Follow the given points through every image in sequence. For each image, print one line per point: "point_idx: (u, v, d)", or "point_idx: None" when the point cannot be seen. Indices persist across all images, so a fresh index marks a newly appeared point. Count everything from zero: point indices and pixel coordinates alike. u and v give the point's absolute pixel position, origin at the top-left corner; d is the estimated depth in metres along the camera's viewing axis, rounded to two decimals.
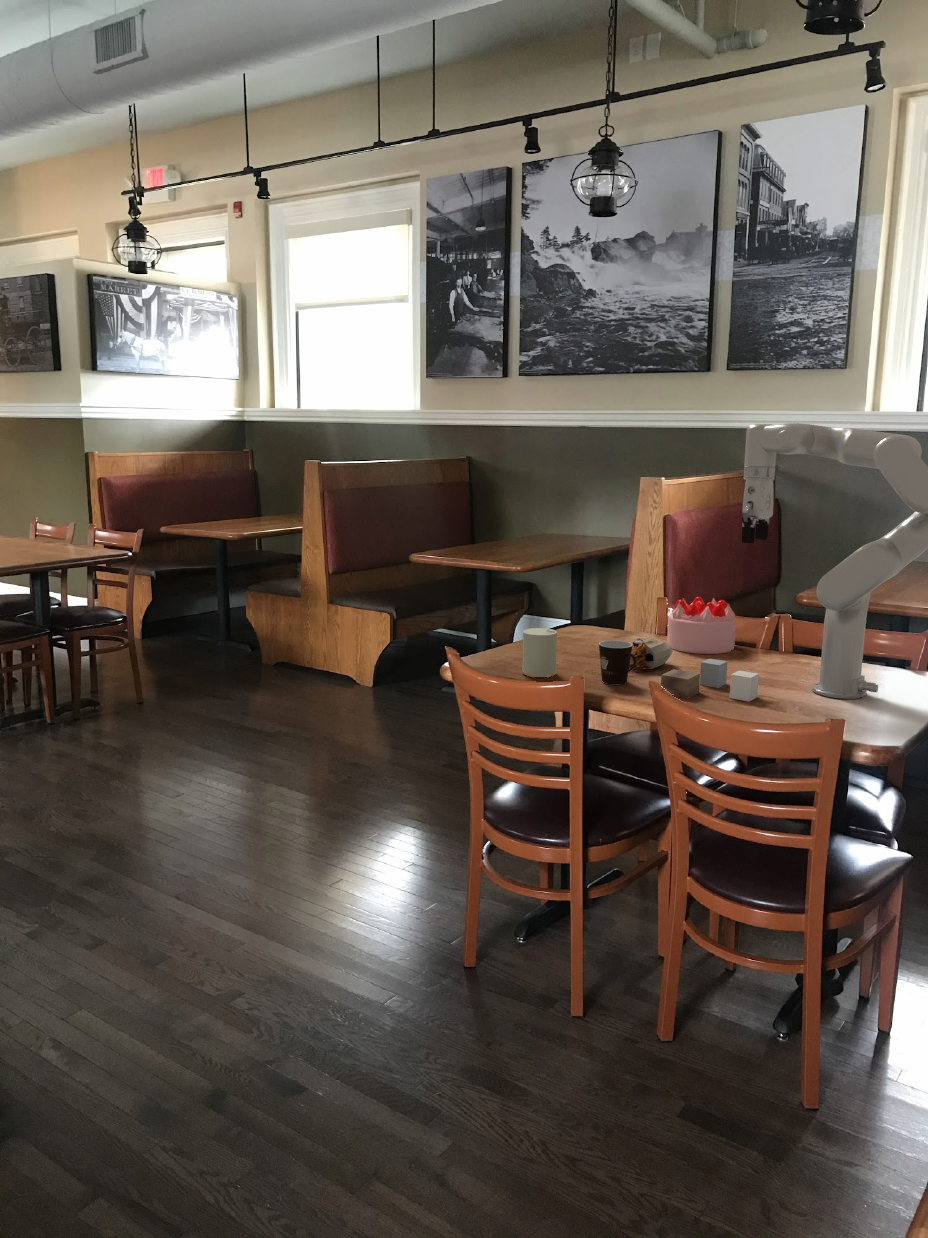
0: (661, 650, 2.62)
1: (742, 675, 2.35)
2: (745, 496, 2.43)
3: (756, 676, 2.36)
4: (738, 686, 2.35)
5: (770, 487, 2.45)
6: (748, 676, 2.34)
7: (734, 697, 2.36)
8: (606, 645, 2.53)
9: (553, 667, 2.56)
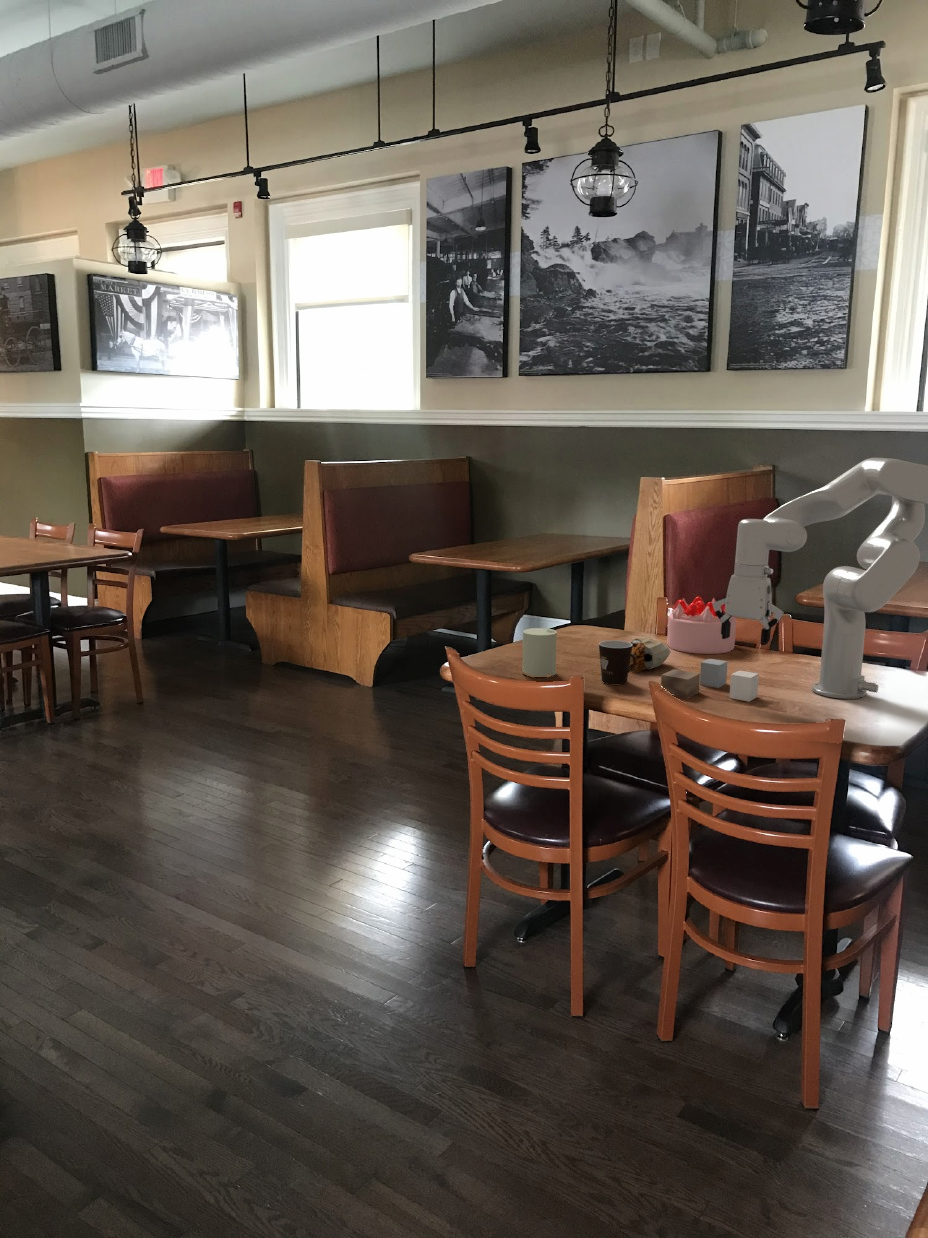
0: (660, 650, 2.61)
1: (742, 675, 2.35)
2: (766, 597, 2.28)
3: (756, 676, 2.36)
4: (738, 686, 2.35)
5: None
6: (748, 676, 2.34)
7: (734, 697, 2.36)
8: (606, 645, 2.53)
9: (553, 667, 2.56)
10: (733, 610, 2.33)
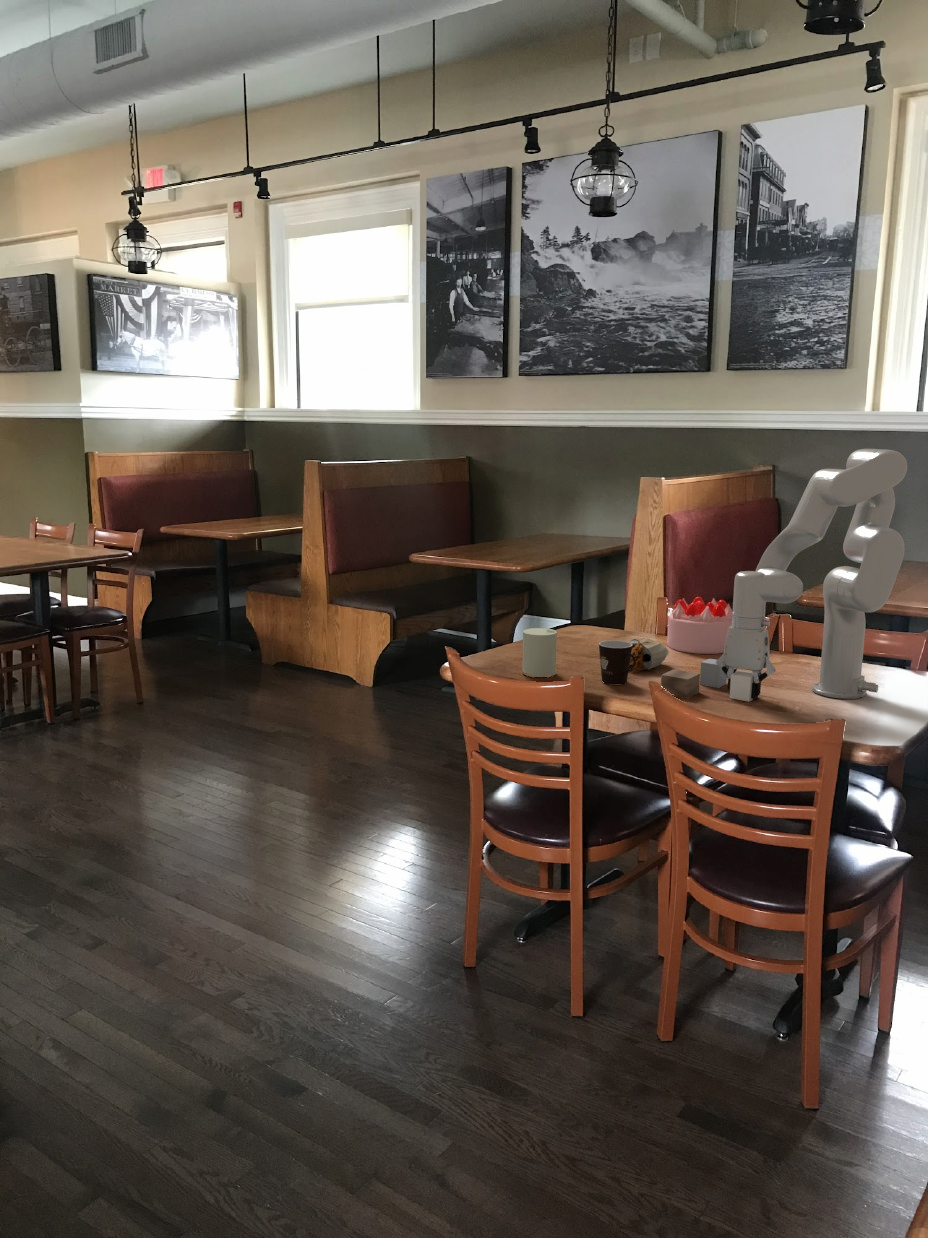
0: (658, 650, 2.61)
1: (742, 675, 2.35)
2: (763, 649, 2.31)
3: None
4: (738, 686, 2.35)
5: None
6: (748, 676, 2.34)
7: (734, 697, 2.36)
8: (606, 645, 2.53)
9: (553, 667, 2.56)
10: (731, 661, 2.35)
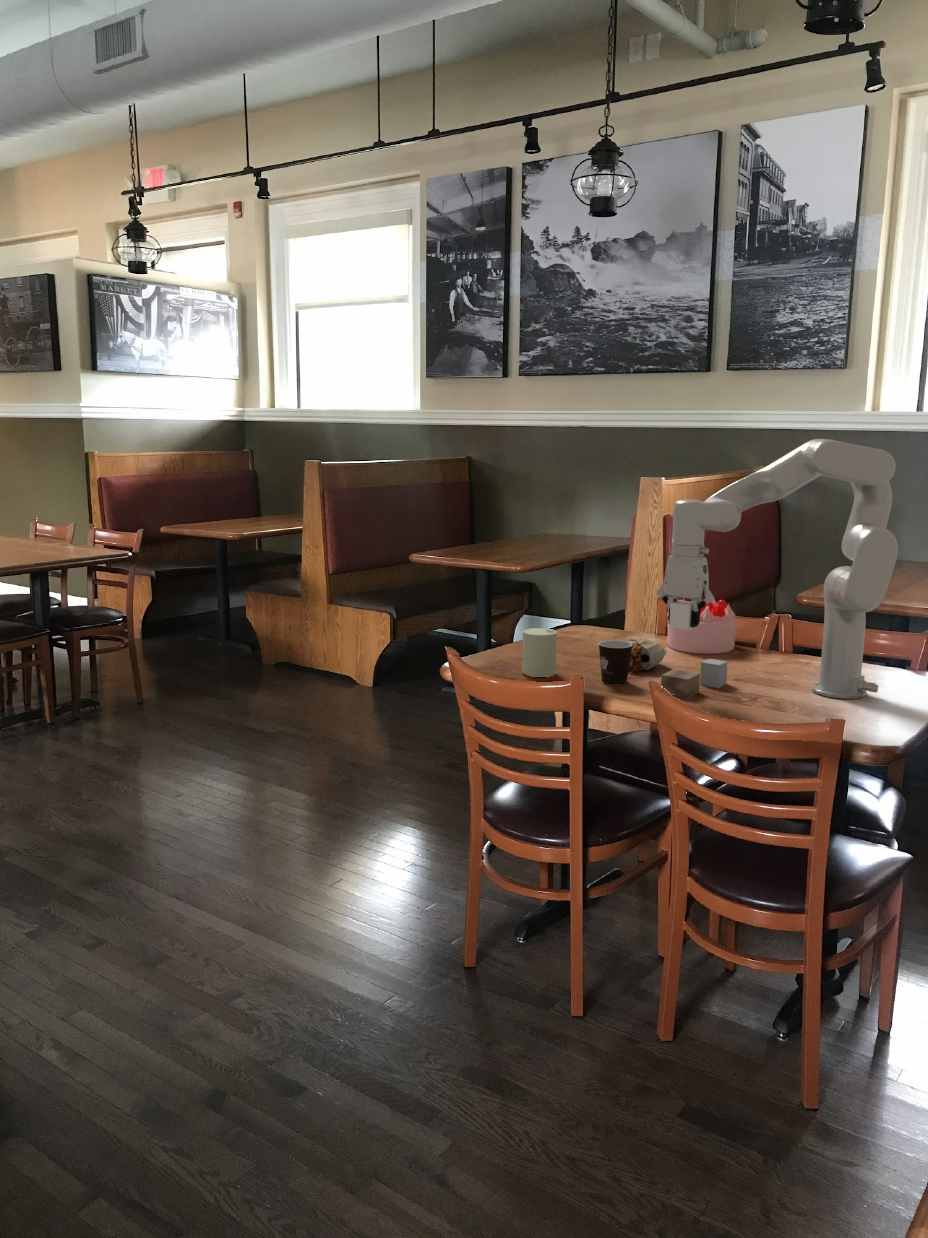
0: (656, 651, 2.61)
1: (681, 603, 2.35)
2: (702, 576, 2.31)
3: None
4: (678, 615, 2.35)
5: None
6: (687, 604, 2.34)
7: (674, 626, 2.36)
8: (606, 645, 2.53)
9: (553, 667, 2.56)
10: (671, 590, 2.36)
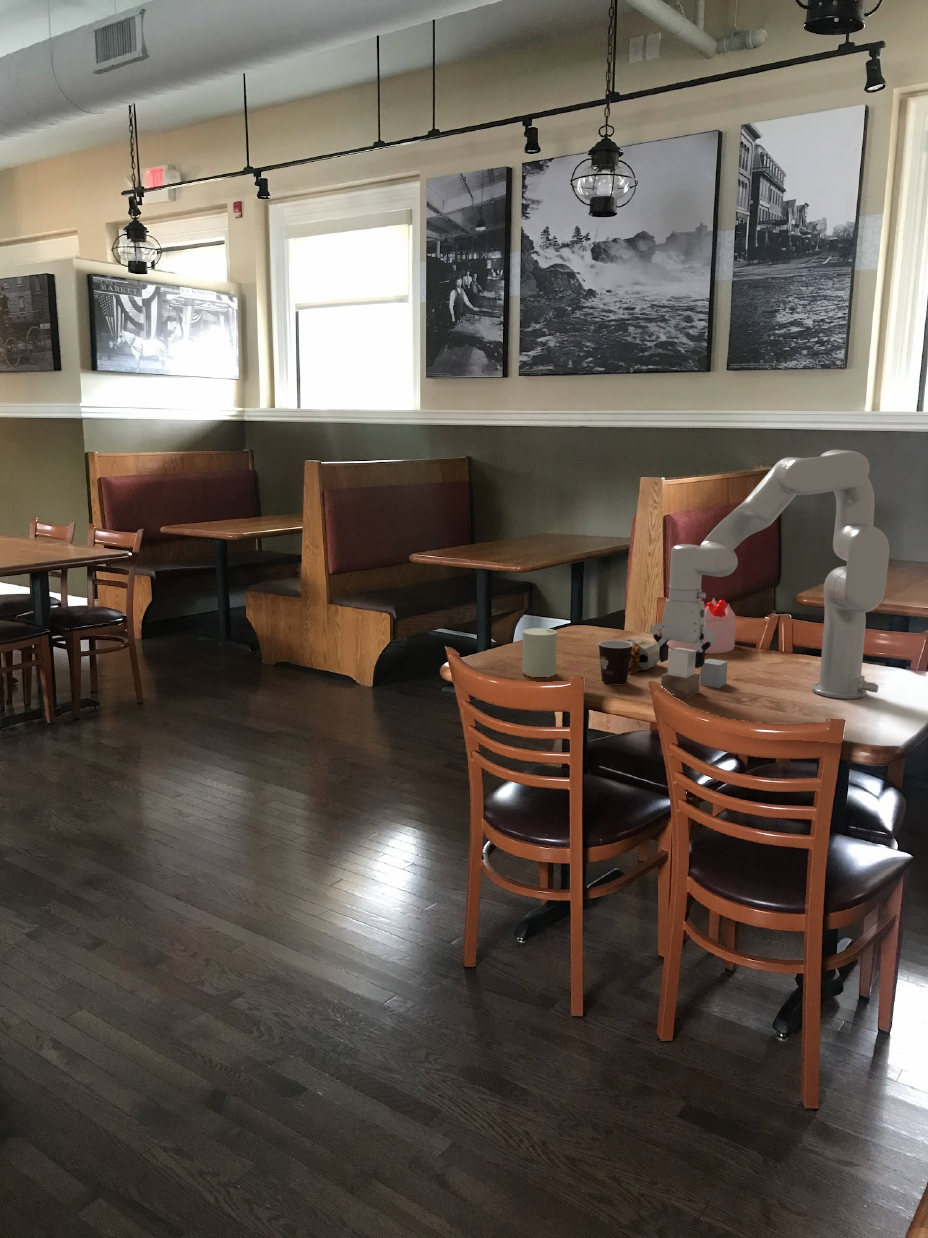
0: (654, 651, 2.61)
1: (680, 652, 2.38)
2: (699, 621, 2.33)
3: (693, 653, 2.38)
4: (676, 663, 2.38)
5: None
6: (685, 652, 2.37)
7: (672, 673, 2.39)
8: (606, 645, 2.53)
9: (553, 667, 2.56)
10: (669, 633, 2.38)
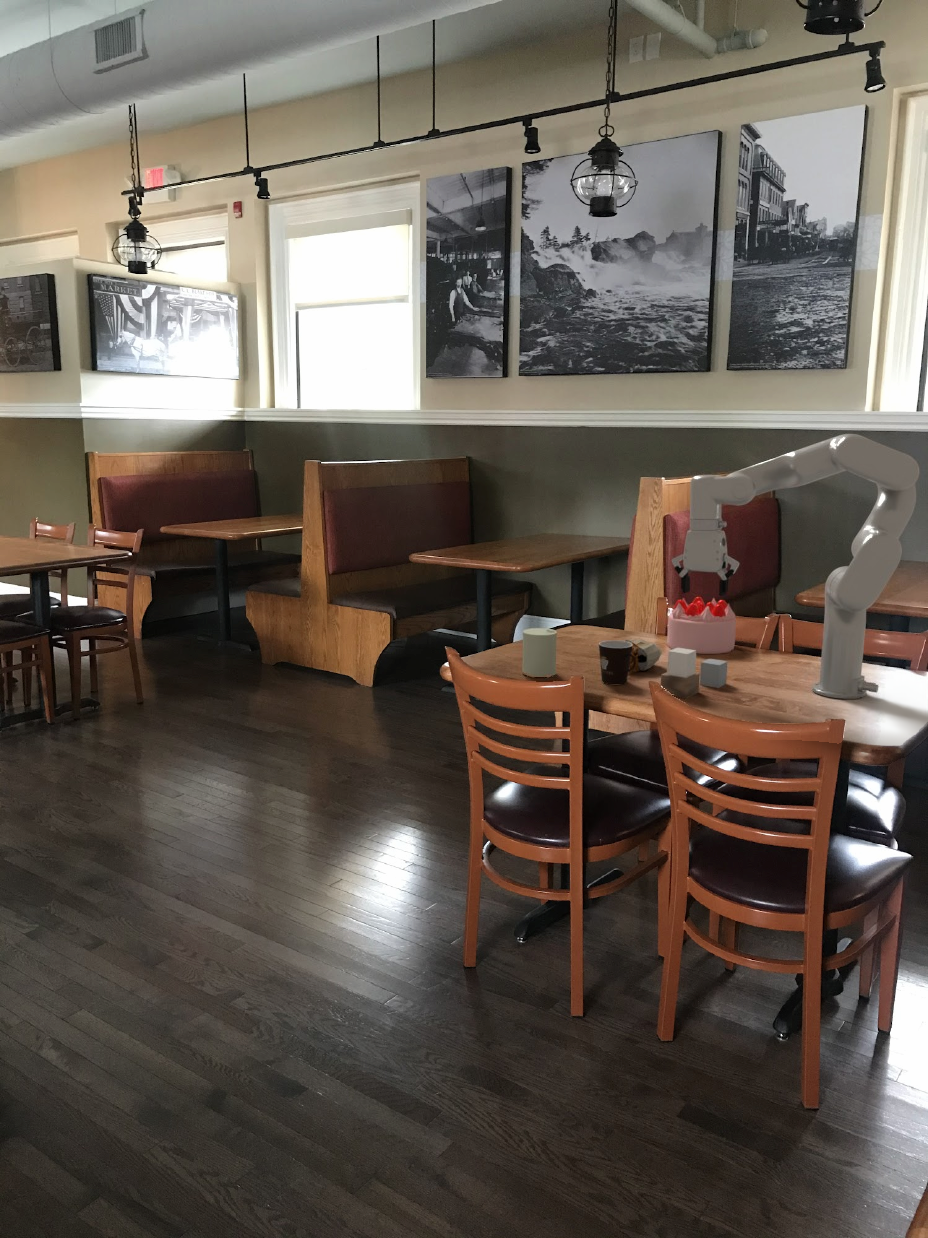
0: (653, 651, 2.60)
1: (679, 652, 2.38)
2: (721, 549, 2.37)
3: (693, 653, 2.38)
4: (676, 663, 2.38)
5: None
6: (685, 652, 2.37)
7: (672, 673, 2.39)
8: (606, 645, 2.53)
9: (553, 667, 2.56)
10: (691, 564, 2.41)
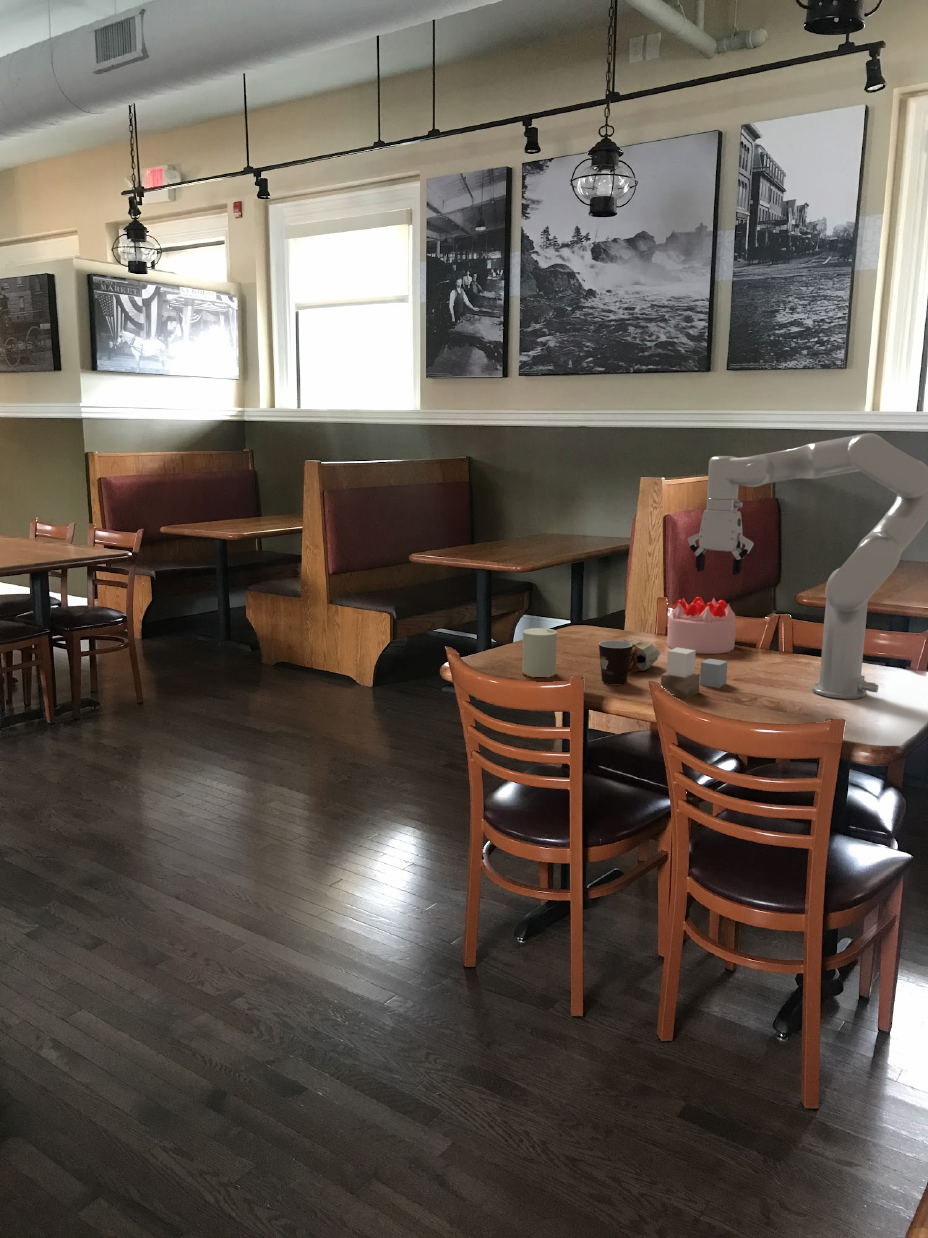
0: (652, 651, 2.60)
1: (679, 651, 2.38)
2: (736, 529, 2.42)
3: (693, 652, 2.39)
4: (675, 663, 2.38)
5: None
6: (684, 652, 2.37)
7: (671, 673, 2.39)
8: (606, 645, 2.53)
9: (553, 667, 2.56)
10: (706, 543, 2.46)
